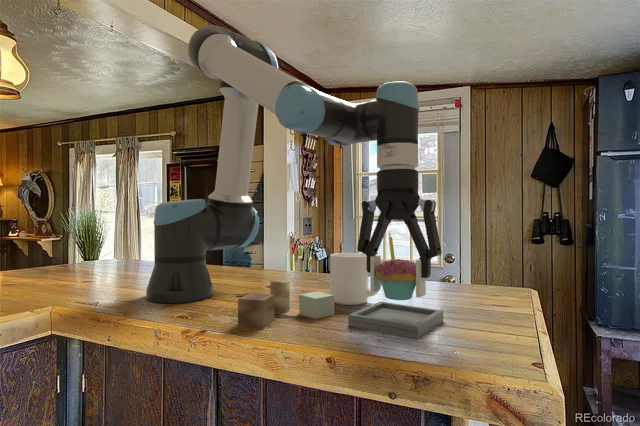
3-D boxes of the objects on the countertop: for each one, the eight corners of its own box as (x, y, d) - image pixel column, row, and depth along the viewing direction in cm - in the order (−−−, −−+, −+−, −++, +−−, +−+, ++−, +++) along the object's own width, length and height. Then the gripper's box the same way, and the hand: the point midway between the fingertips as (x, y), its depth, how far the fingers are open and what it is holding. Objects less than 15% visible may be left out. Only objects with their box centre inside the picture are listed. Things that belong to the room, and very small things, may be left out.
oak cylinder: (266, 310, 83) (266, 281, 82) (278, 307, 86) (278, 279, 86) (280, 313, 80) (281, 283, 80) (293, 309, 84) (293, 281, 83)
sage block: (299, 314, 80) (299, 294, 80) (318, 310, 84) (318, 291, 84) (315, 319, 77) (315, 298, 77) (334, 315, 80) (334, 295, 80)
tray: (348, 325, 72) (348, 314, 72) (380, 311, 82) (380, 301, 82) (417, 339, 64) (417, 326, 64) (443, 321, 75) (443, 310, 75)
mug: (376, 308, 85) (377, 258, 85) (324, 303, 89) (324, 255, 89) (386, 300, 93) (386, 254, 93) (337, 296, 97) (337, 252, 97)
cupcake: (391, 304, 68) (392, 234, 68) (366, 294, 76) (366, 231, 76) (432, 300, 71) (432, 233, 71) (404, 291, 79) (404, 231, 79)
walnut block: (237, 326, 71) (237, 298, 71) (249, 319, 76) (249, 293, 76) (263, 328, 70) (263, 300, 70) (274, 321, 75) (274, 294, 75)
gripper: (338, 171, 76) (338, 289, 76) (448, 163, 64) (448, 304, 64) (357, 174, 82) (357, 284, 82) (461, 167, 70) (461, 296, 70)
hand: (397, 292), depth 73 cm, fingers closed on cupcake, 8 cm apart
